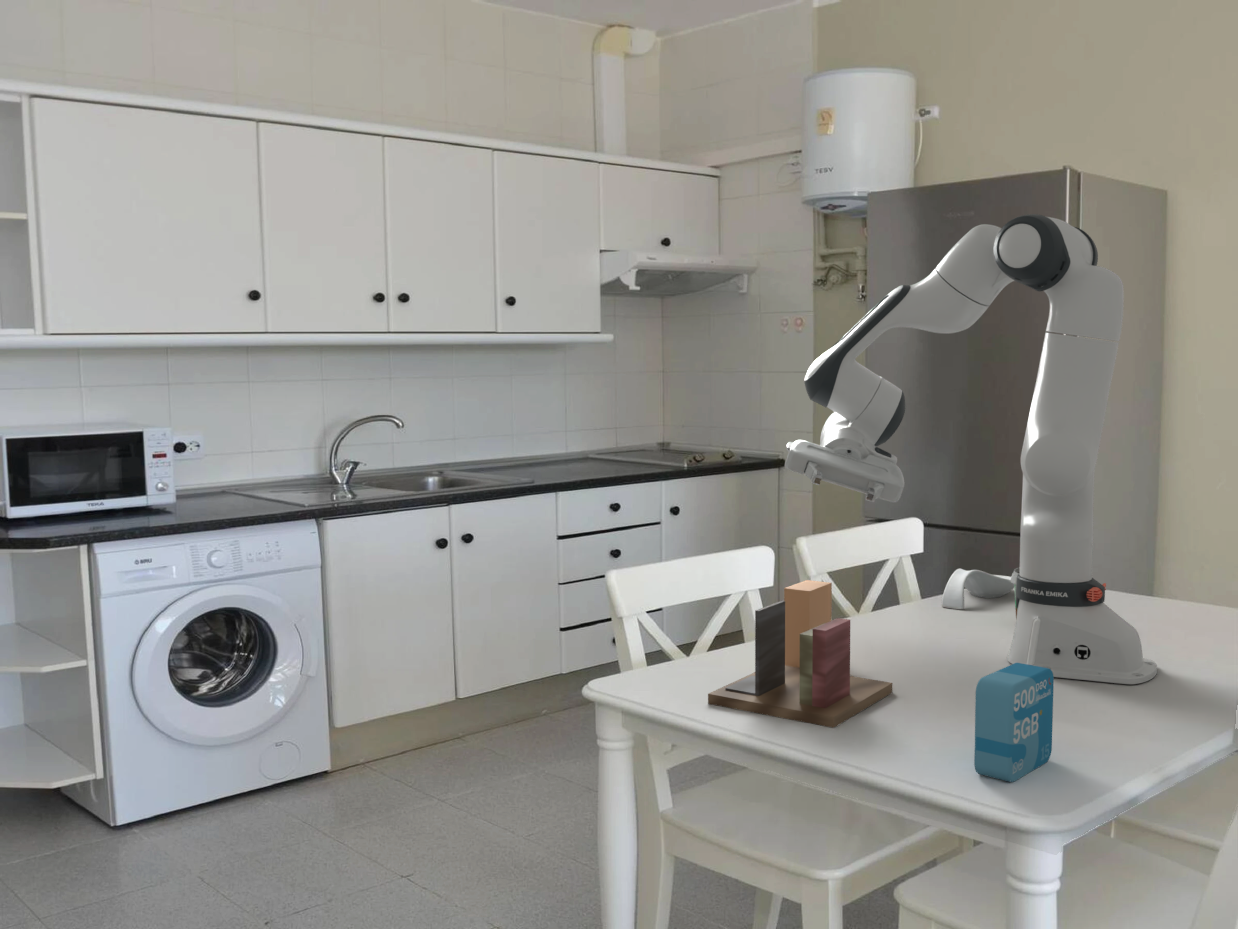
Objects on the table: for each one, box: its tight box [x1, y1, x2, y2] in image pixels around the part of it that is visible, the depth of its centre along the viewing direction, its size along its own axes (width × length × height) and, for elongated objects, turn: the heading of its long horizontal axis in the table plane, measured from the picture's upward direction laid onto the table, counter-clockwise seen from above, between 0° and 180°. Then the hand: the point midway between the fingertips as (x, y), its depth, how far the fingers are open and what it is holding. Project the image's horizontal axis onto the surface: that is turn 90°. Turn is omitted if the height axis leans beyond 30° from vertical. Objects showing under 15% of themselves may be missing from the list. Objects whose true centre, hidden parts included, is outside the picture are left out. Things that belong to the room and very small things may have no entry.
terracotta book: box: [783, 579, 833, 668], centre depth 196 cm, size 4×8×13 cm, turn 144°
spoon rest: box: [940, 568, 1014, 610], centre depth 245 cm, size 24×12×7 cm, turn 142°
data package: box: [973, 663, 1055, 783], centre depth 147 cm, size 12×4×12 cm, turn 137°
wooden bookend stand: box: [707, 600, 893, 729], centre depth 177 cm, size 20×20×14 cm
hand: (843, 488), depth 198 cm, fingers open, 8 cm apart
